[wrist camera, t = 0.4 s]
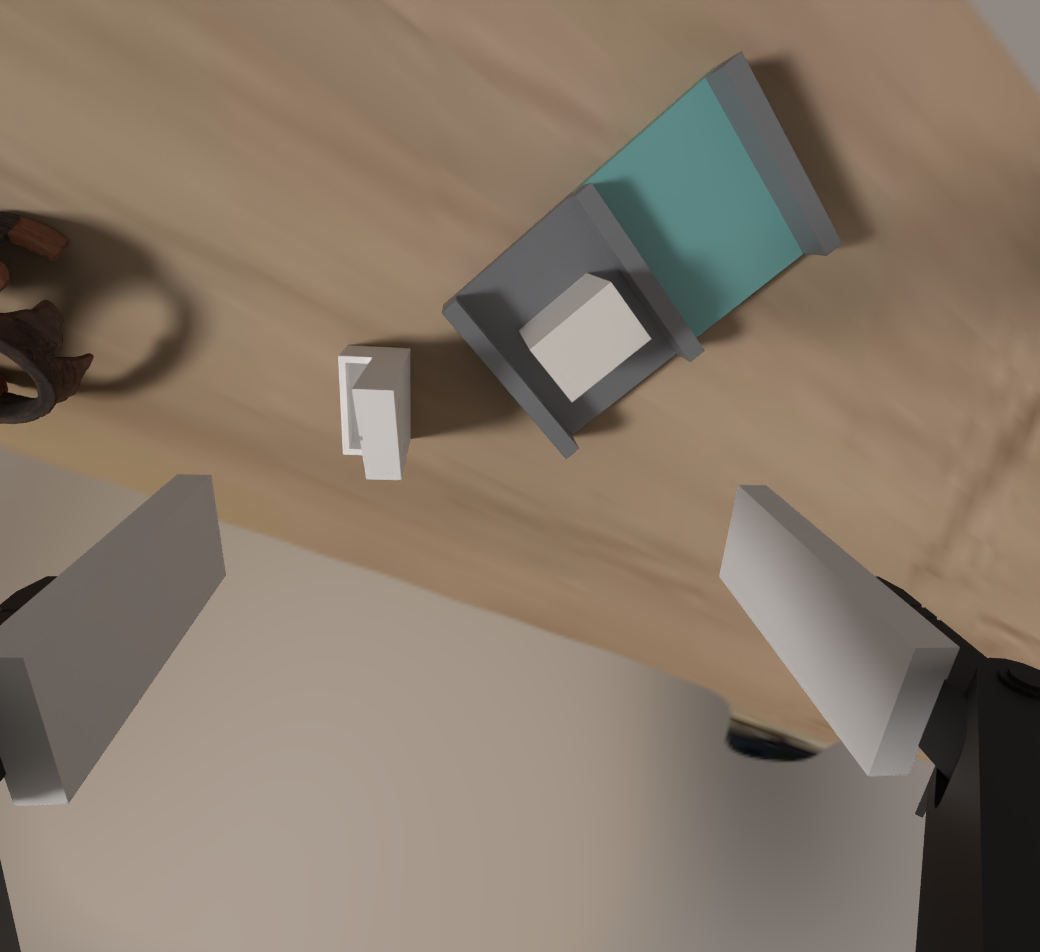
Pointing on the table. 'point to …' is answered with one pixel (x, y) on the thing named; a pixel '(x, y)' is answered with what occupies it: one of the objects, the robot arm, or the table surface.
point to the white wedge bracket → (376, 408)
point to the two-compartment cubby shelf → (653, 244)
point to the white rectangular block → (584, 334)
